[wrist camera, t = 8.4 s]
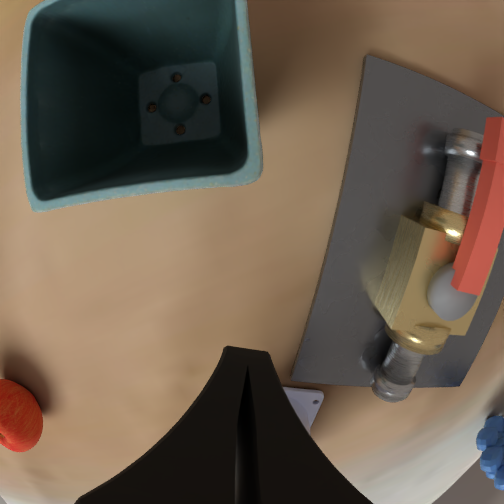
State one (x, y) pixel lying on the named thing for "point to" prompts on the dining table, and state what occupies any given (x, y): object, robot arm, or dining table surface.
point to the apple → (19, 417)
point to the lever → (475, 234)
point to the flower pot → (136, 99)
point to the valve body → (400, 241)
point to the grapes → (492, 449)
